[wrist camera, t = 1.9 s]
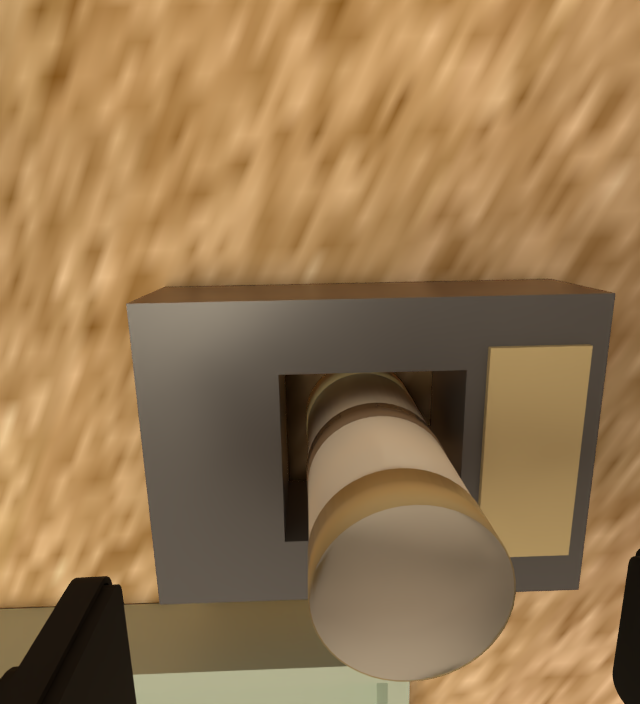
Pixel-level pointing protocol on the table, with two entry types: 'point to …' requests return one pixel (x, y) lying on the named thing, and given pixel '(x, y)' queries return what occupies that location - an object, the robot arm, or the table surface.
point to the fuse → (395, 538)
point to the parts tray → (222, 655)
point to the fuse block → (363, 357)
